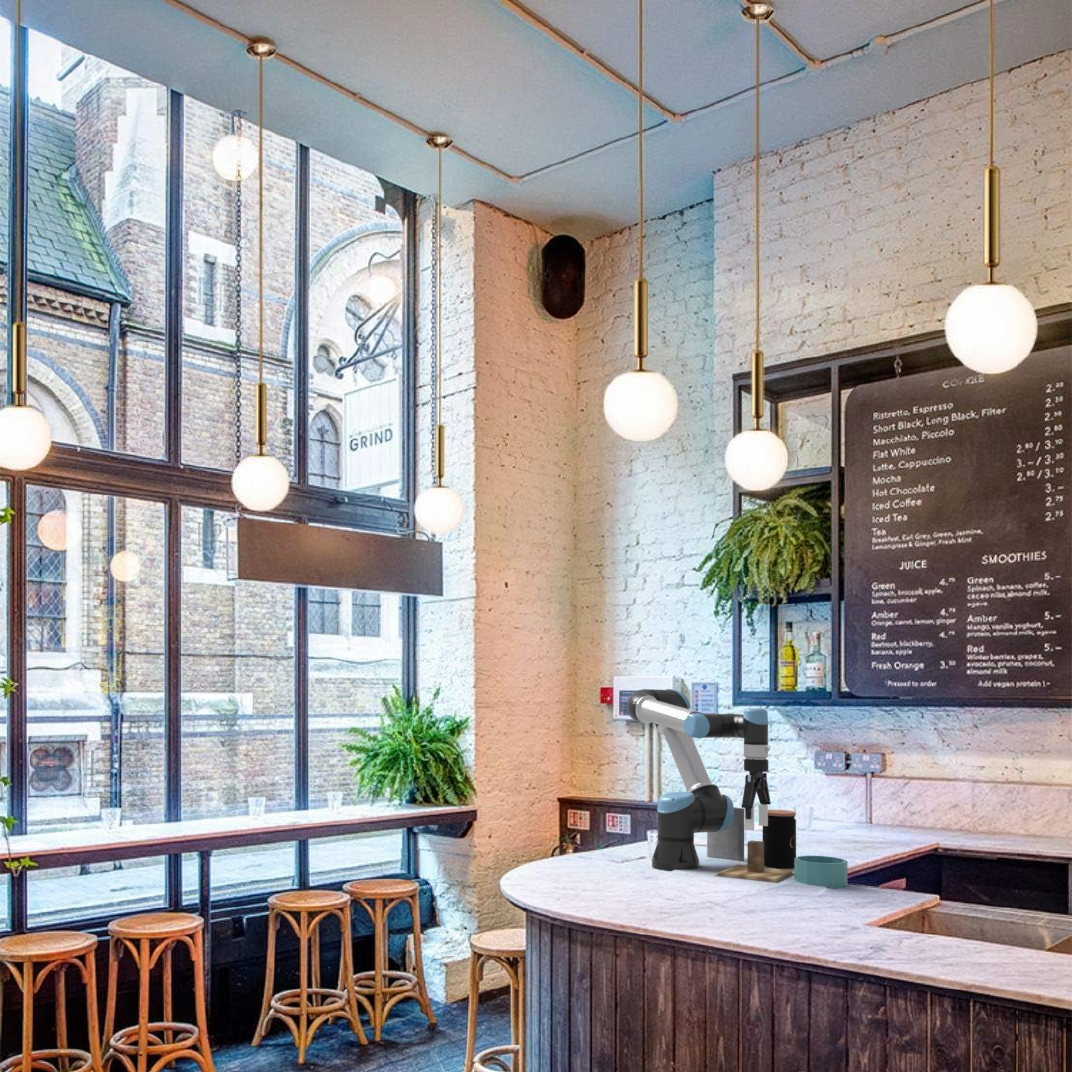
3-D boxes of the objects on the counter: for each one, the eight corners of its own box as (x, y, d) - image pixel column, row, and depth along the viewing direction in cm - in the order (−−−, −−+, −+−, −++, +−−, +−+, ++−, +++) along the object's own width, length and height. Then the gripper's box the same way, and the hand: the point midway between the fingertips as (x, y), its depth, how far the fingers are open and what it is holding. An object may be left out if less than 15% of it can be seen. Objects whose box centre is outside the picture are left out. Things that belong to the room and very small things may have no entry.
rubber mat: (713, 877, 353) (713, 875, 353) (735, 869, 370) (735, 867, 370) (777, 885, 343) (777, 883, 343) (796, 875, 361) (796, 873, 361)
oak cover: (717, 875, 353) (718, 842, 355) (737, 867, 369) (737, 835, 370) (775, 882, 345) (775, 847, 346) (792, 873, 360) (792, 841, 361)
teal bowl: (789, 884, 345) (789, 860, 346) (803, 877, 358) (803, 854, 359) (839, 889, 338) (839, 865, 339) (852, 882, 351) (851, 858, 352)
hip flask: (746, 862, 385) (746, 801, 387) (737, 863, 382) (737, 801, 385) (711, 855, 397) (711, 796, 400) (703, 856, 395) (703, 797, 397)
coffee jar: (796, 871, 368) (796, 814, 370) (762, 869, 370) (762, 812, 372) (795, 866, 379) (795, 810, 381) (762, 864, 381) (762, 808, 383)
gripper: (754, 760, 348) (755, 832, 346) (779, 757, 370) (780, 824, 367) (731, 759, 352) (731, 830, 349) (757, 756, 374) (757, 823, 371)
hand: (756, 828), depth 358 cm, fingers open, 13 cm apart
